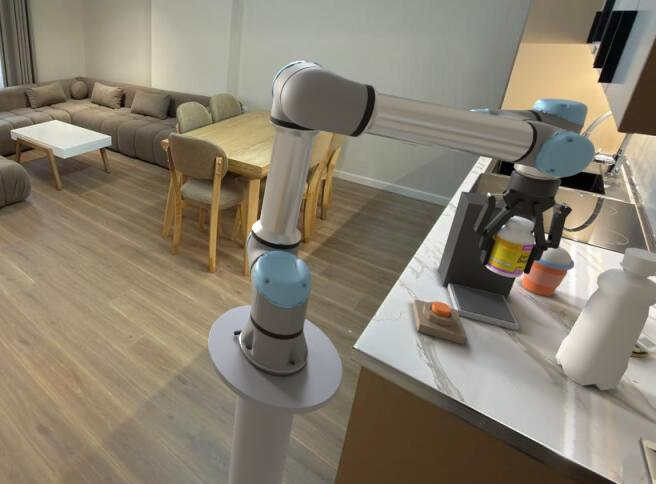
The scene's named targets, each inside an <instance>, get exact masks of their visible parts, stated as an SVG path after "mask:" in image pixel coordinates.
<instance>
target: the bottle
mask: <svg viewBox="0 0 656 484" xmlns="http://www.w3.org/2000/svg"><path fill="white" fill-rule="evenodd" d="M619 266H620V267H621V268H622V269H621V268H608V269H607V270H605V271H603V272H601V273H599V274H598V276H597V278H596V279H597V280H596V284H597V287H598V288H597V289H596V290H595V291H594V292H593V293H592V294H591V295H590V296H589V298H588V300H587V302H586V304H585V305H584V307H583V309H582V310H581V311H580V314H579V316H578V317H577V319H576V320H575V322H574V324H573V326H572V328H571V330H569V333H568V334H567V336H565V338H564V339H563V340H562V342H561V344H560V346H559V348H558V351H557V353H556V355H555V359H556V362H557V364H558V365H559V366H561V367H562V371H563V373H564V375H565V376H566V377H567V378H569V379H570V380H571V381H572V382H575V383H577V384H579V385H580V386H590V385H594V387H596V388H598V390H600V391H607V390H608V391H609V390H614V389H617V387H618V386H619V384H620V381H621V380H622V378H623V376H624V375H625V373H626V371H627V369H629V360H630V358H631V356H632V354H633V351H634V349H635V347H636V344H637V342H638V341H639V338H640V336H641V334H642V331H643V329H644V327H645V325H646V323H647V321H648V318H649V314H650V307H651V306H654V305H655V306H656V282H655V281H654V280H652V279H651V277H656V253H655V252H652V251H649V250H646V249H642V248H637V247H626V249H625V251H624V255H623V258H622V261H619Z"/></svg>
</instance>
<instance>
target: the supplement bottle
mask: <svg viewBox="0 0 656 484" xmlns="http://www.w3.org/2000/svg"><path fill="white" fill-rule="evenodd" d="M534 225H535V224H534V223H533V222H532V221H530V220H528V219H525V218H522V217H518V216H514V217H512V218H510V219H509V220H508V221H507V222H506V223H505V225H503V227H502V228H501V229H500V230H499V231H498V232H497V233H496V234H495V235H494V236H493V239H494V240H495V243H494V246H493V249H492V251H491V254H490V257H489V260H488V263H487V265H485V266H486V267H487V268H488V269H489V270H491V271H493V272H495V273H497V274H499V275H502V276H506V277H516V278H519V277H521V276H522V275H523V274H524V272H523V271H524V269H525V266H526V264H527V261H528V258H529V256H530V253H531V251H532V248H533V245H534V244H535V236H534V233H533V234H532V233H531V231H532V230H533V228H534Z"/></svg>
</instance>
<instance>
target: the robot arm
mask: <svg viewBox="0 0 656 484" xmlns="http://www.w3.org/2000/svg"><path fill="white" fill-rule="evenodd" d="M271 96H272V105H271V111H270V118H269V123H270V124H271V126H272V127H273V128H274V129H275V130H274V136H273V142H272V147H271V153H270V159H269V165H268V170H267V171H268V172H267V177H266V183H265V189H264V194H263V200H262V205H261V211H260V217H259V219H258V220H256V221H254V223H253V224H252V226H251V231H250V233H249V234H248V237H247V240H246V243H245V253H246V257H247V260H248V267H249V273H250V281H251V282H250V283H251V289H252V292H251V294H252V295H251V303H250V305H251V313H250V317H249V318H248V320H247V322H246V323H245V325H244V327H243V329H242V330H239V331H234V335H240V341H239V345H240V350H241V352H242V354H243V356H244V357H245V359H246V360H247V361H248V362H249V363H250V364H251V365H252V366H254V367H255V368H257V369H258V370H260V371H262V372H264V373H267V374H270V375H274V376H291V375H295V374H297V373H299V372H300V371H301V370H303V368H304V367H305V365H306V363H307V358H308V355H309V350H308V347H307V343H306V339H305V335H304V331H303V328H304V322H305V319H306V316H307V311H308V304H309V299H310V296H311V291H312V274H311V271H310V267H308V265H307V264H306V262H305V261H304V260H302V259H301V258H298V255H299V254H298V253H299V249H300V245H301V240H302V233H301V231H300V230H299V229H298V228H297V225H298V221H299V217H300V212H301V206H302V202H303V198H304V193H305V189H306V183H307V179H308V174H309V169H310V165H311V160H312V155H313V150H314V146H315V141H316V138H317V137H316V136H317V135H319V134H320V133H322V132H325V133H331V134H336V135H343V136H348V137H353V138H359V137H361V136H363V135H365V134H367V135H372V136H376V137H382V138H385V139H386V138H387V139H391V140H397V141H401V142H407V143H412V144H417V145H422V146H426V147H431V148H436V149H441V150H447V151H452V152H456V153H457V152H458V153H462V154H468V155H473V156H477V157H482V158H487V159H492V160H498V161H502V162H507V163H510V164H514V165H513V168H514V169H513V170H512V171H511V174H510V178H509V180H508V183H507V186H506V188H505V190H504V191H502V192H501V193H492V192H491V191H487V192H486V193H485V195H486V202H485V204H484V206H483V208H482V210H481V212H480V214H479V217H478V219H477V221H476V223H475V225H474V227H473V228H474V230H475V232H476V234H477V235H481V236H482V237H481V240H480V243H479V247H480V249H481V250H482V253H481V256H480V260H481V262H482V265H487V263H488V260H489V257H490V254H491V251H492V249H493V246H494V243H495V240H494V239H493V236H494V235H495V234H496V233H497V232H498V231H499V230H500V229H501V228H502V227H503V225H504V224H505V223H506V222H507V221H508V220H509V219H510V218H512V217H514V216H515V215H516V214H525V215H528V216H531V217H532V222H533V223H534V224H535V225H534V228H533V231H534V232H533V235H534V236H535V243H534V245H533V248H532V251H531V253H530V256H529V258H528V261H527V264H526V266H525V269H524V271H523V275H524V274H529V273H530V270H531V268H532V265H533V263H534V260H535V261H539V260H540V259H541V257H542V255H543V252H544V251H547V250H548V248H553V249H557V248H559V247H560V245H561V241H562V237H561V236H563V234H562V232H563V233H564V227H565V223H566V220H567V217H568V216H570V214H571V213H572V211H573V209H572V208H571V207H570V206H569V205H568V203H566V202H559V201H557V200H556V196H557V193H558V192H559V189H560V186H561V184H562V180H561V179H562V178H566V177H571V176H575V175H577V174H579V173H581V172H583V171H584V170H586V169H587V168H588V167H589V166H590V164H591V163H592V162H593V159H594V158H595V156H596V155H595V154H596V149H595V146H594V142H593V141H592V140H590V139H589V138H588V137H586V136H584V135H582V134H581V133H582V130H583V128H584V127H585V122H586V119H587V114H588V110H589V109H588V106H587V105H586V104H585V103H583V102H580V101H576V100H571V99H562V98H540V99H538V100H536V101H535V104H534V105H533V106H532V109H496V108H495V109H494V108H488V107H487V108H481V109H471V110H469V109H464V108H460V107H455V106H450V105H444V104H438V103H434V102H429V101H422V100H419V99H413V98H408V97H403V96H399V95H393V94H387V93H383V92H378V90H377V88H376V87H375V86H374V85H372V84H367V83H366V84H365V83H361V82H358V81H354V80H352V79H349V78H346V77H344V76H342V75H340V74H338V73H336V72H333V71H332V70H330V69H328V68H325V67H324V66H322V65H321V64H319V63H317V62H315V61H309V60H298V61H293V62H291V63H288V64H286V65H285V66H283V67H282V68H281V69H280V70H279V71H278V72H277V73H276V75H275V76H274V78H273V80H272V85H271ZM501 199H504V201H505V203H506V205H505V206H504V207H503V208H502V210H501V212H500V213H499V214H498V215H497V216H496V217H495V218H494V219H493V220H492V221H491V222H490V223H489V225H488V226H487V227H486V225H487V223H488V221H489V219H490V217H491V215H492V213H493V211H494V209H495V205H496V204H498V203H499V201H500V200H501ZM551 208H552V211H553V213H552V216H551V220H550V225H549V229H548V234H547V238H546V232H545V225H544V213H545V212H546V211H548V210H550V209H551ZM485 227H486V228H485Z"/></svg>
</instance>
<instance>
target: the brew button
mask: <svg viewBox="0 0 656 484" xmlns="http://www.w3.org/2000/svg"><path fill="white" fill-rule="evenodd" d="M433 302H434V303H433V305H432V308H431V310H432V312H434V313H435V314H437V315H439V316H442V317H449V315H450V312H451V308H452V307H451V306H449V305H448V304H447V303H444V302H441V301H433Z"/></svg>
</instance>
